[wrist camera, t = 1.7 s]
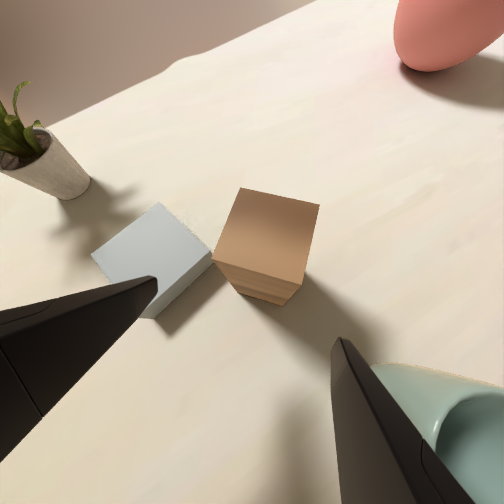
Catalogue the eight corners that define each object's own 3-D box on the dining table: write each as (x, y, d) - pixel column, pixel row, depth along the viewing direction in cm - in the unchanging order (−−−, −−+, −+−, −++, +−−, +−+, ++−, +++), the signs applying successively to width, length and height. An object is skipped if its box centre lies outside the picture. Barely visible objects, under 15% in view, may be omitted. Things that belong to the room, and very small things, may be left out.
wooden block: (282, 306, 20) (301, 285, 10) (237, 292, 21) (211, 258, 10) (293, 262, 21) (319, 204, 11) (251, 251, 22) (240, 187, 12)
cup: (435, 376, 17) (647, 437, 8) (430, 488, 14) (740, 788, 5) (345, 341, 18) (431, 356, 9) (327, 437, 16) (419, 599, 6)
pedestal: (153, 318, 20) (135, 317, 17) (111, 263, 23) (90, 254, 20) (216, 260, 22) (209, 250, 19) (171, 215, 25) (159, 201, 22)
